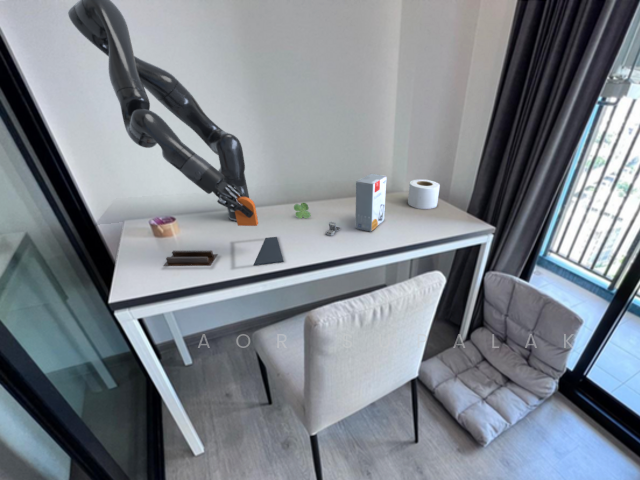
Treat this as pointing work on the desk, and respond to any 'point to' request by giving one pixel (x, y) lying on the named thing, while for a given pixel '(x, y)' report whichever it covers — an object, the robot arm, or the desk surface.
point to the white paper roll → (423, 194)
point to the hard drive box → (370, 201)
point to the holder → (191, 258)
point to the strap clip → (332, 229)
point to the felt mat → (269, 252)
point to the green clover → (302, 210)
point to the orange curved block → (242, 218)
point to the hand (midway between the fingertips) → (252, 213)
